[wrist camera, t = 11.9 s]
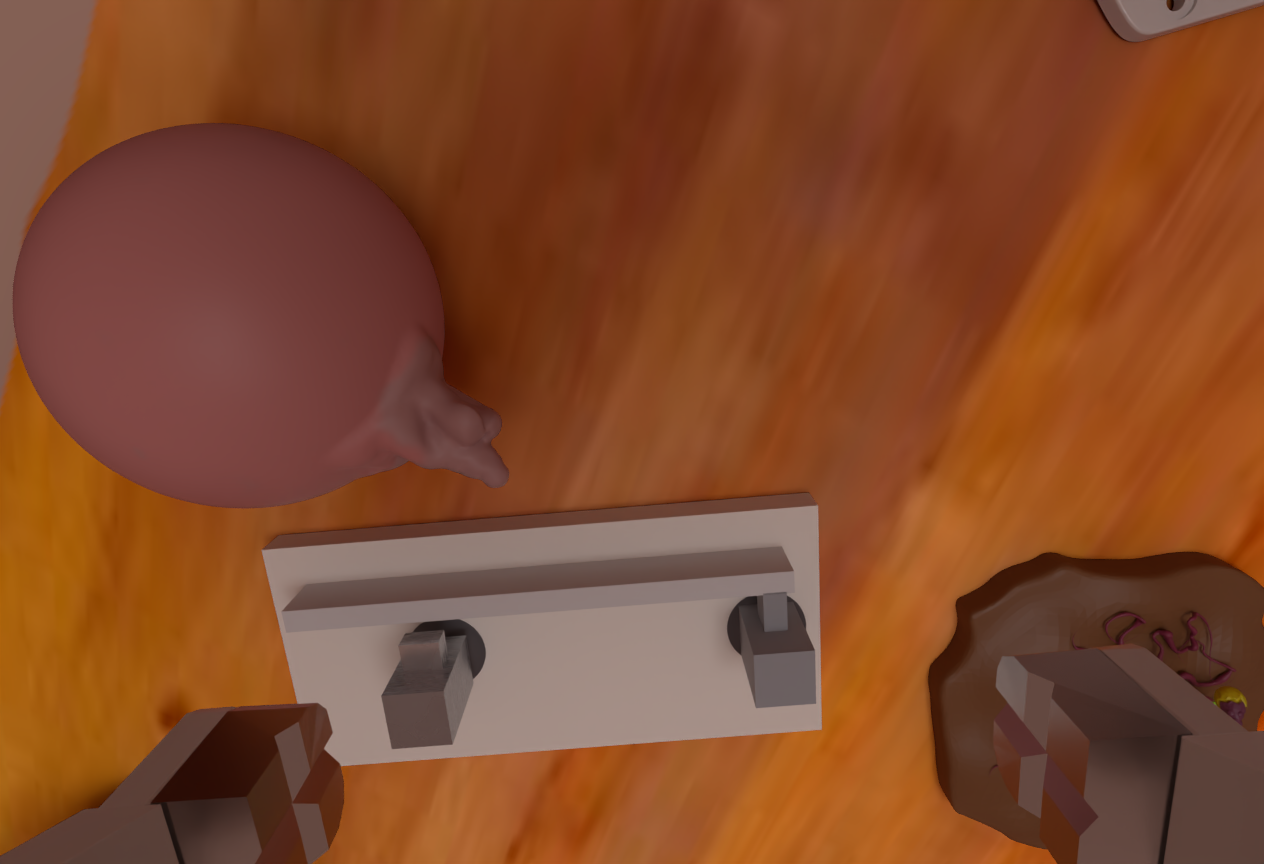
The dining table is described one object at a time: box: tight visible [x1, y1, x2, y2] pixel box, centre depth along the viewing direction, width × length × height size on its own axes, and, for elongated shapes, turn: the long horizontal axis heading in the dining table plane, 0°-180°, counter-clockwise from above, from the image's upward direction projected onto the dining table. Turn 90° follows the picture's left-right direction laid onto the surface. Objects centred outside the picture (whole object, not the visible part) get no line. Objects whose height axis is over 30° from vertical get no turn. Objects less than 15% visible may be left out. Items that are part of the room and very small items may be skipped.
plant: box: [928, 552, 1264, 849], centre depth 39 cm, size 20×20×11 cm
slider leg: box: [381, 630, 474, 749], centre depth 37 cm, size 3×4×5 cm, turn 5°
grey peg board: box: [262, 493, 822, 766], centre depth 39 cm, size 30×14×7 cm, turn 95°
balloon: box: [13, 123, 509, 508], centre depth 31 cm, size 15×20×15 cm
